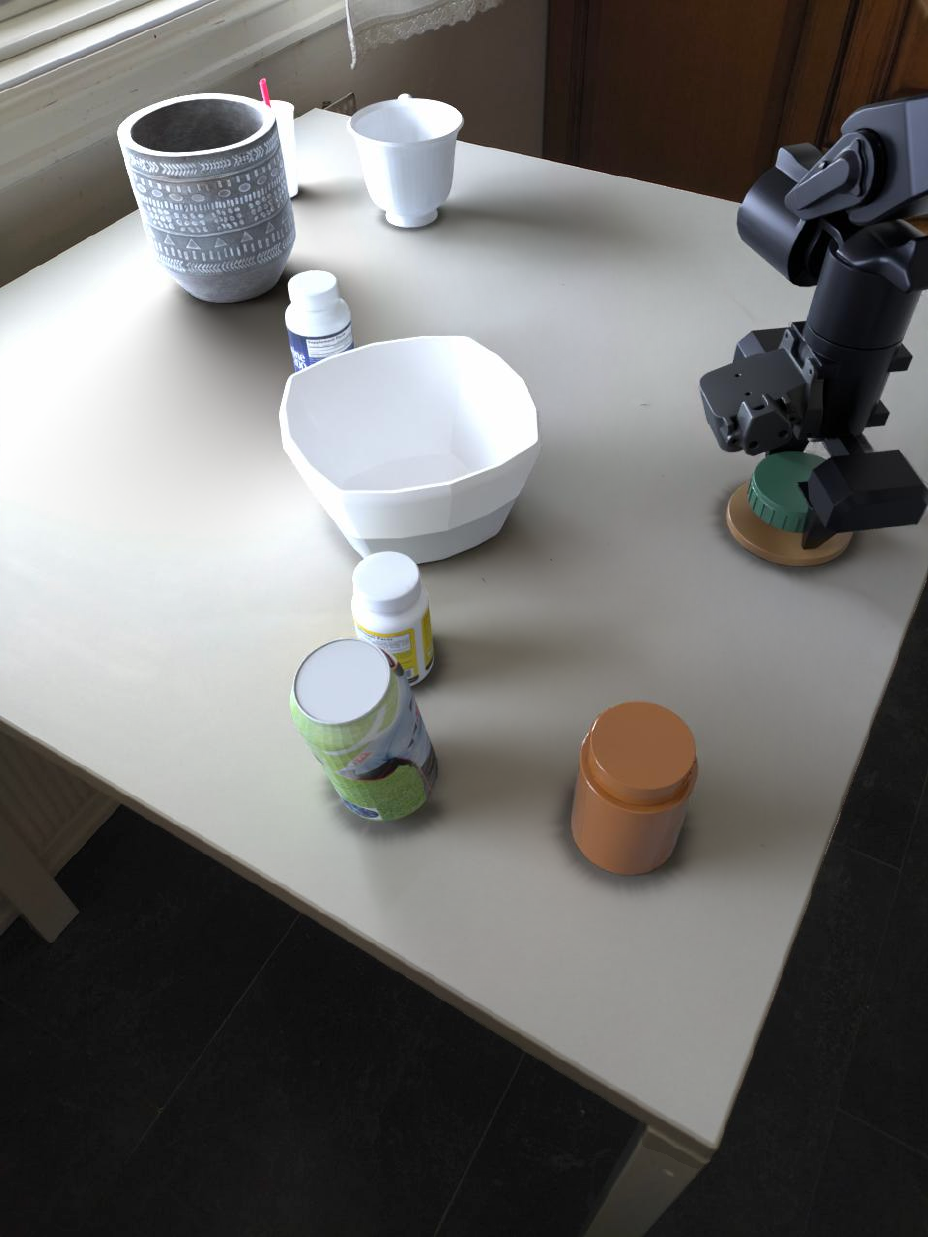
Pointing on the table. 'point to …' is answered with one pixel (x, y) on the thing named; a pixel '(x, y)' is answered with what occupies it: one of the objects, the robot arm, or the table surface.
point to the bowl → (413, 443)
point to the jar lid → (782, 489)
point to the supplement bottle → (394, 611)
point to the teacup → (407, 156)
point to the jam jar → (633, 787)
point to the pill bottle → (317, 319)
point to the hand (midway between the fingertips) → (790, 514)
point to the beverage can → (364, 728)
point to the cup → (284, 136)
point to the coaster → (776, 536)
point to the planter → (212, 193)
